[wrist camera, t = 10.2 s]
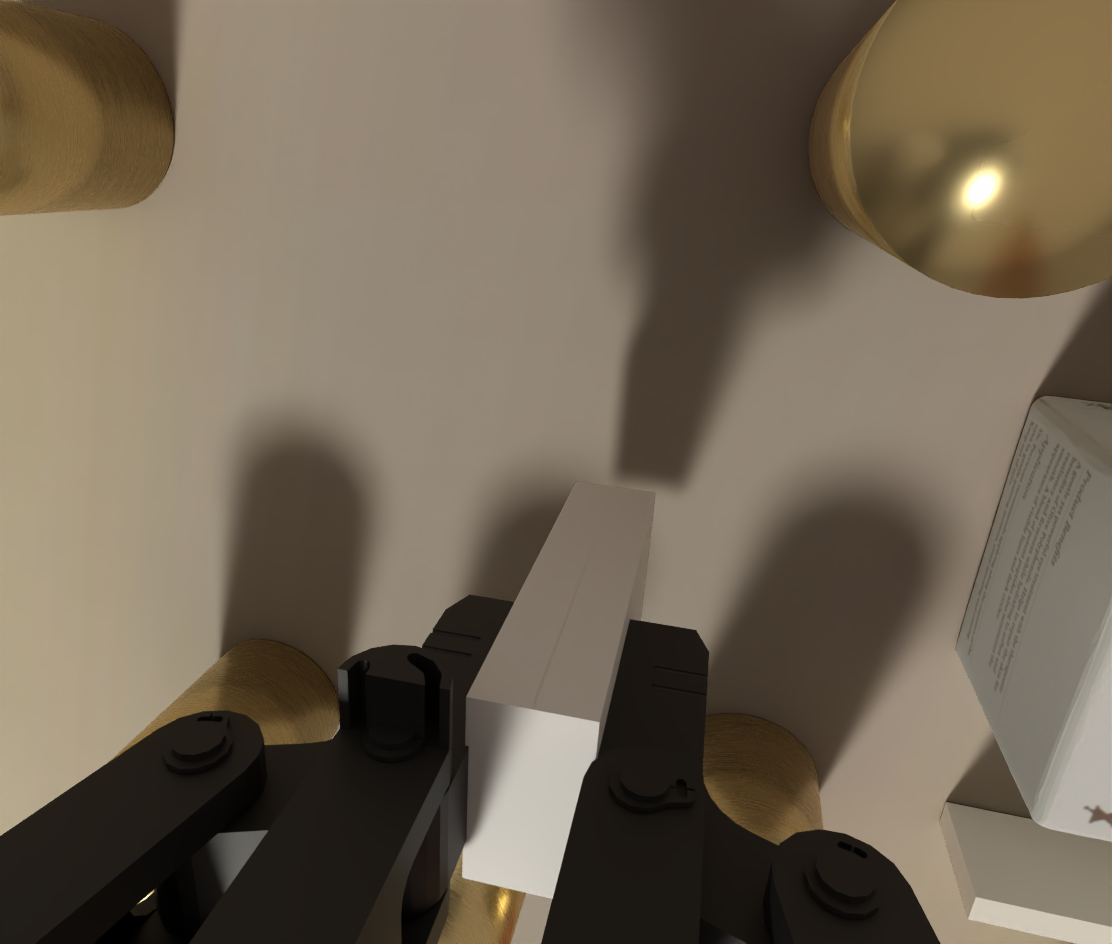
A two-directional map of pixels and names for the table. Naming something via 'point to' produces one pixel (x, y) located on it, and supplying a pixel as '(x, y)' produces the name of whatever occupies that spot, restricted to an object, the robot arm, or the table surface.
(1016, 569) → the small box
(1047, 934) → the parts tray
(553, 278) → the table surface
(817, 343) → the table surface
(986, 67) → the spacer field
